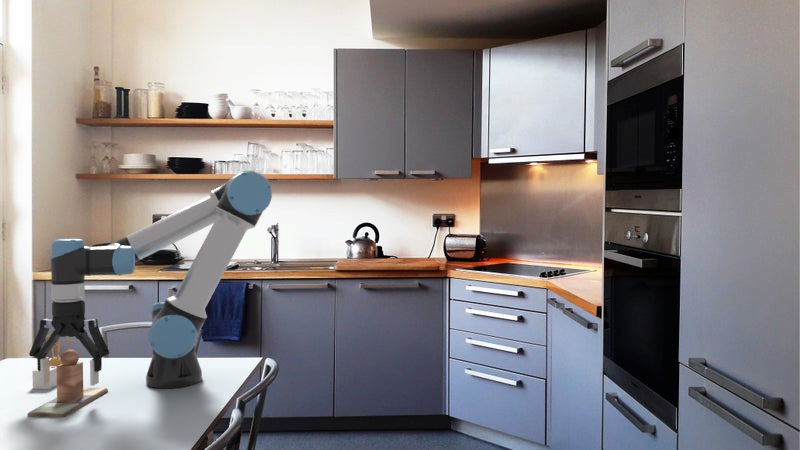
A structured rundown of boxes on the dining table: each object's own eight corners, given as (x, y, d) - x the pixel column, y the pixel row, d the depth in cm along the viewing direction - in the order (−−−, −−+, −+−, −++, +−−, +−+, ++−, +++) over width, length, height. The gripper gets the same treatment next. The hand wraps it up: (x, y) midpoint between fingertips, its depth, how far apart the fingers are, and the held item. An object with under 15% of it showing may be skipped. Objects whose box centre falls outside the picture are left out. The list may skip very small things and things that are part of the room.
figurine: (40, 373, 195) (39, 333, 195) (40, 368, 201) (39, 330, 200) (71, 369, 199) (70, 331, 199) (70, 365, 205) (70, 327, 204)
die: (60, 383, 184) (60, 366, 184) (50, 388, 179) (50, 370, 179) (43, 383, 184) (43, 365, 184) (32, 388, 179) (32, 370, 179)
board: (107, 391, 176) (107, 387, 176) (64, 417, 155) (64, 412, 155) (75, 391, 176) (75, 387, 176) (27, 416, 155) (27, 412, 155)
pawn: (83, 396, 168) (82, 347, 167) (74, 401, 163) (73, 351, 163) (66, 396, 168) (65, 347, 167) (57, 401, 163) (56, 351, 163)
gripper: (122, 297, 168) (123, 380, 168) (30, 297, 169) (32, 379, 170) (108, 302, 160) (109, 388, 161) (12, 301, 161) (14, 387, 162)
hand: (69, 383), depth 165 cm, fingers open, 12 cm apart
